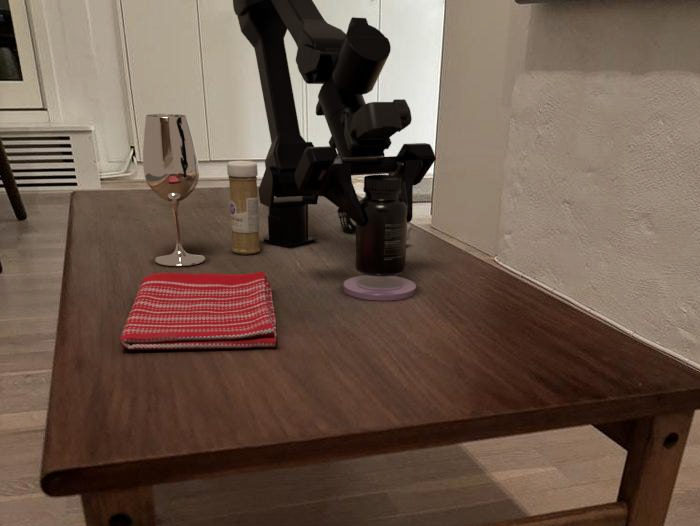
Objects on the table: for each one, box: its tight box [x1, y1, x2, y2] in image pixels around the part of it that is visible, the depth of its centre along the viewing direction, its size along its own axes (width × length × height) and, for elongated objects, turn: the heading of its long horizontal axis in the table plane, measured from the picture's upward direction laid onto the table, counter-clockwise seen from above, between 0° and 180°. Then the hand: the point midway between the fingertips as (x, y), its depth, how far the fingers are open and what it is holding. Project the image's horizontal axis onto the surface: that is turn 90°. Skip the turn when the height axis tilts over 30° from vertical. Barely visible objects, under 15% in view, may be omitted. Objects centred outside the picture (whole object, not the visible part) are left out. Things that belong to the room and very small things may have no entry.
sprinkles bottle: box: [226, 160, 261, 256], centre depth 115 cm, size 5×5×14 cm
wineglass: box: [142, 113, 206, 268], centre depth 108 cm, size 8×8×20 cm
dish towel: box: [119, 270, 278, 351], centre depth 89 cm, size 17×24×3 cm
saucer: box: [342, 274, 417, 302], centre depth 101 cm, size 10×10×1 cm
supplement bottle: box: [354, 174, 408, 276], centre depth 97 cm, size 7×7×12 cm
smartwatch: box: [336, 207, 356, 233], centre depth 133 cm, size 4×5×5 cm
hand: (386, 222), depth 96 cm, fingers closed on supplement bottle, 7 cm apart
